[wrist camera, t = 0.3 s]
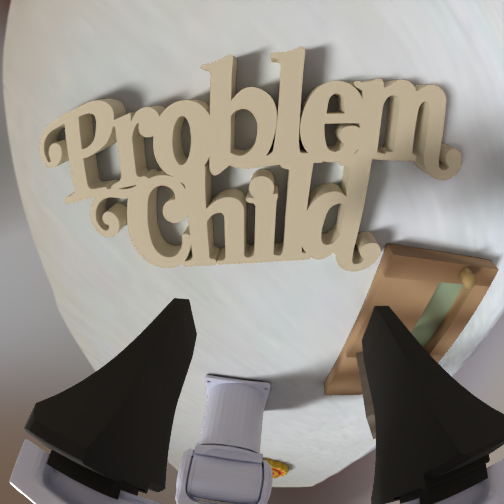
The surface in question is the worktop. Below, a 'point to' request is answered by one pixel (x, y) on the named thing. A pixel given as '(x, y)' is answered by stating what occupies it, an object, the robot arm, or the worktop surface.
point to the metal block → (366, 394)
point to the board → (416, 304)
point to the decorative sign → (251, 164)
